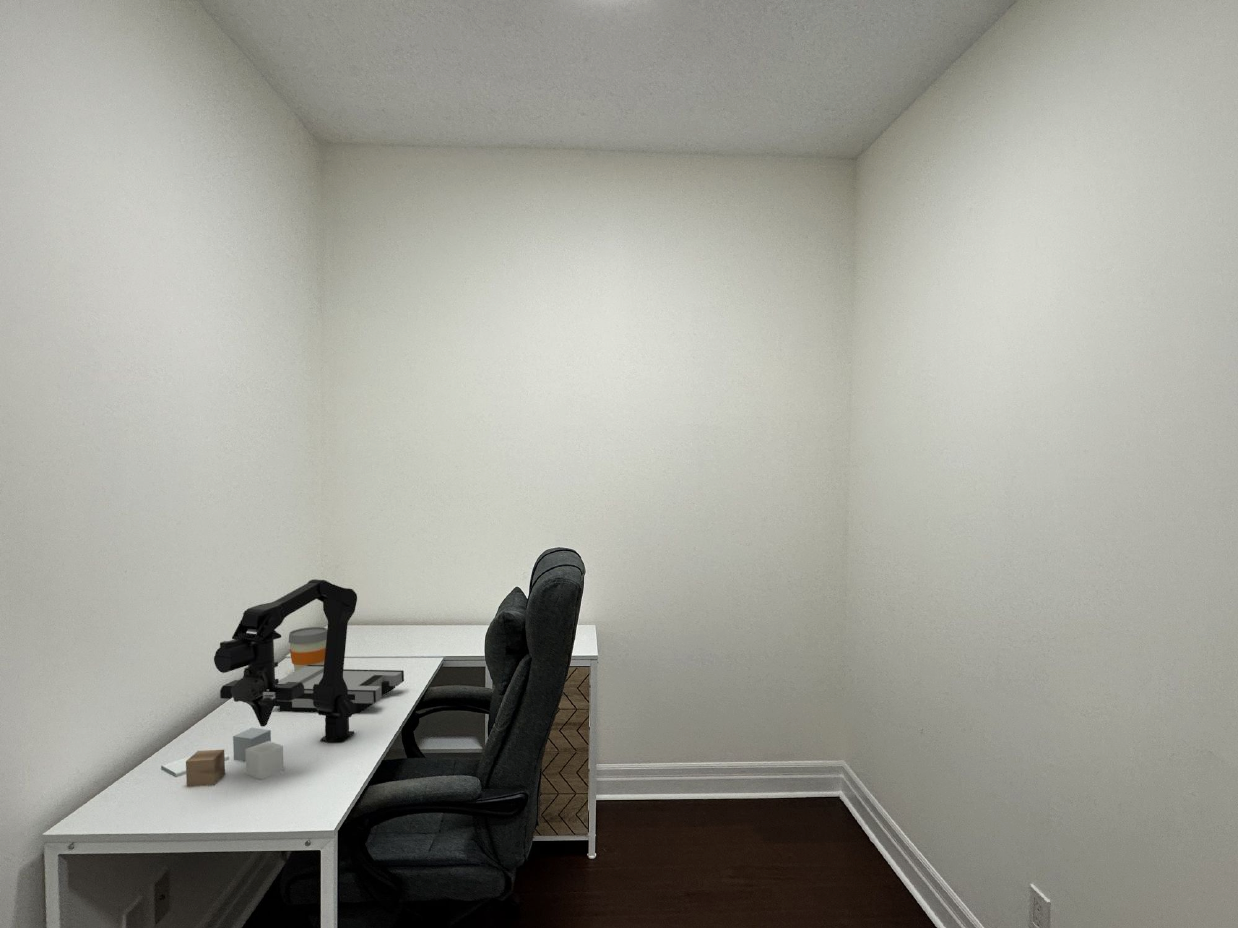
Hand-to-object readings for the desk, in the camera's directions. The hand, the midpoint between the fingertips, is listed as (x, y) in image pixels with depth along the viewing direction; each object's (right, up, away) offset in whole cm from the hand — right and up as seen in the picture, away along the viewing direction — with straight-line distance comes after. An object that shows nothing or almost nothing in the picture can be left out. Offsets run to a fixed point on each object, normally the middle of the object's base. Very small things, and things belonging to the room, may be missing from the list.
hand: (263, 725), depth 183 cm
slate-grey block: (-7, -11, +10) cm, 16 cm away
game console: (0, -10, +50) cm, 51 cm away
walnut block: (-12, -12, -4) cm, 17 cm away
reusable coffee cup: (-20, -10, +78) cm, 81 cm away
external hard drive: (-19, -12, +6) cm, 23 cm away
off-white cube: (0, -11, 0) cm, 11 cm away
